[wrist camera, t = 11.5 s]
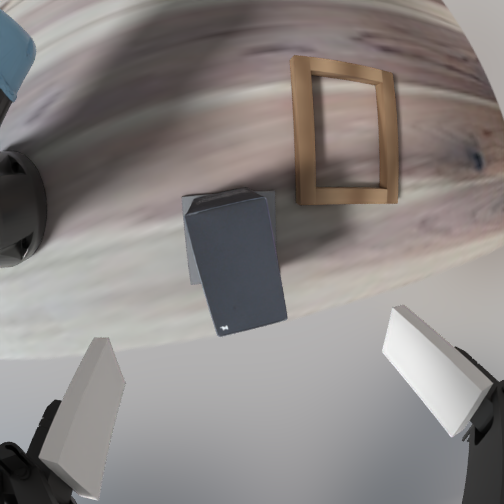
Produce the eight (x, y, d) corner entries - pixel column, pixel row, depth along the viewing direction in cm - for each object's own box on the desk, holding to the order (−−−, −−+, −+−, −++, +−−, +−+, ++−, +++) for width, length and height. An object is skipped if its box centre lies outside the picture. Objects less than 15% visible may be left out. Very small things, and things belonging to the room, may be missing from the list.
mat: (191, 282, 32) (190, 284, 32) (182, 196, 29) (181, 197, 28) (275, 275, 33) (276, 277, 33) (273, 190, 30) (275, 191, 30)
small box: (268, 275, 33) (292, 322, 23) (213, 288, 32) (215, 341, 22) (250, 185, 29) (270, 195, 19) (190, 198, 29) (178, 216, 19)
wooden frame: (295, 203, 31) (300, 205, 29) (289, 60, 26) (294, 55, 24) (389, 201, 33) (397, 203, 31) (384, 76, 27) (392, 72, 26)
